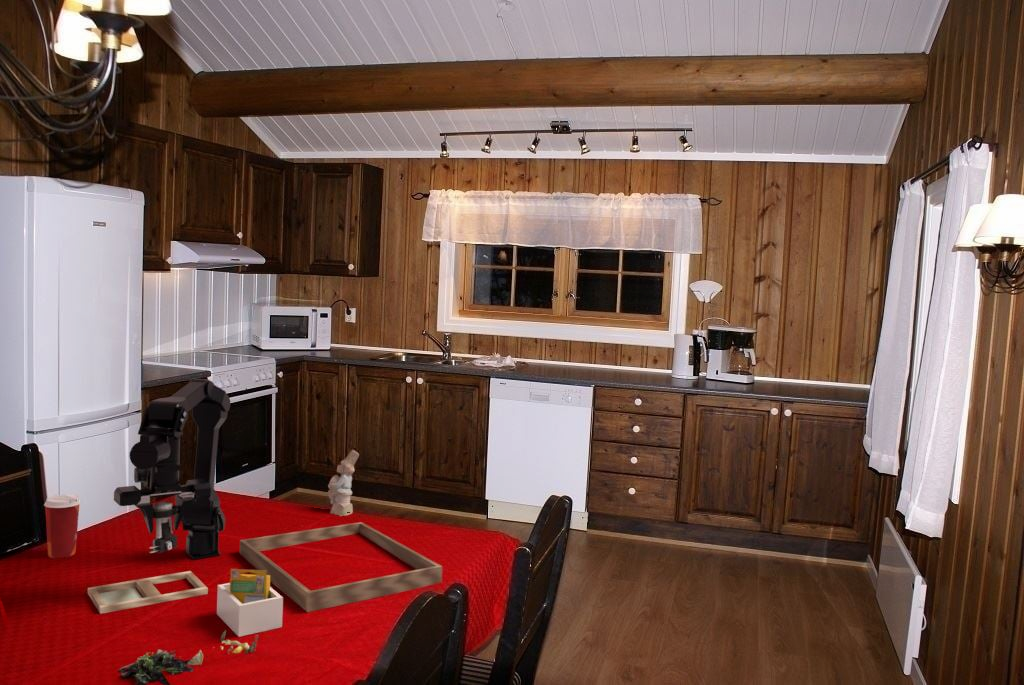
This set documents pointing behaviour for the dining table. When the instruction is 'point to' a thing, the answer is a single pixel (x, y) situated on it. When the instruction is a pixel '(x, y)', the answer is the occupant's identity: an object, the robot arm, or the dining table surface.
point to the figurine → (342, 486)
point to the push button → (164, 527)
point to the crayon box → (249, 585)
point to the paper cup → (62, 525)
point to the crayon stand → (249, 612)
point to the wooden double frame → (128, 597)
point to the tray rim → (344, 593)
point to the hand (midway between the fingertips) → (163, 531)
